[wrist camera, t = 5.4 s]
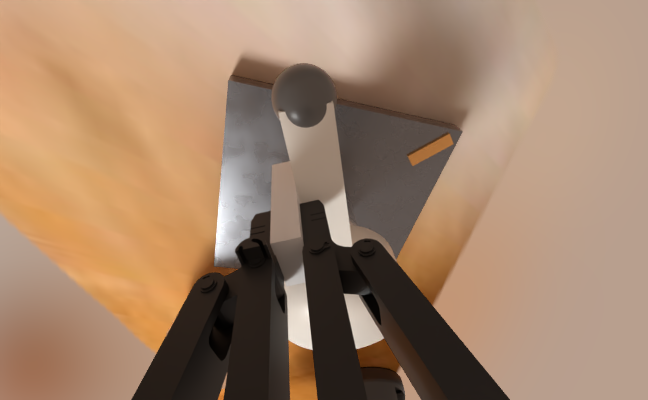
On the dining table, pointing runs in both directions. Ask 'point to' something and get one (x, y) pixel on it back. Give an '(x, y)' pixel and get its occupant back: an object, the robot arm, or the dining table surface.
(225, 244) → the base
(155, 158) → the dining table surface
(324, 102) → the coupling lever handle
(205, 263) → the dining table surface
